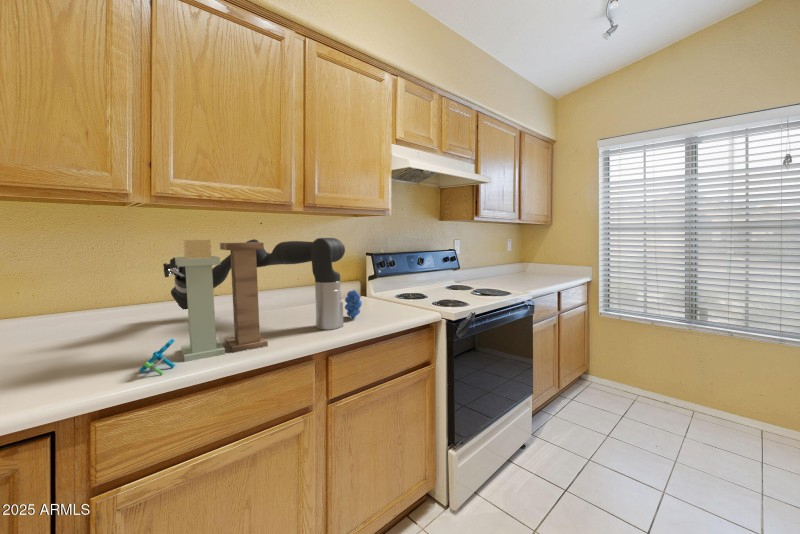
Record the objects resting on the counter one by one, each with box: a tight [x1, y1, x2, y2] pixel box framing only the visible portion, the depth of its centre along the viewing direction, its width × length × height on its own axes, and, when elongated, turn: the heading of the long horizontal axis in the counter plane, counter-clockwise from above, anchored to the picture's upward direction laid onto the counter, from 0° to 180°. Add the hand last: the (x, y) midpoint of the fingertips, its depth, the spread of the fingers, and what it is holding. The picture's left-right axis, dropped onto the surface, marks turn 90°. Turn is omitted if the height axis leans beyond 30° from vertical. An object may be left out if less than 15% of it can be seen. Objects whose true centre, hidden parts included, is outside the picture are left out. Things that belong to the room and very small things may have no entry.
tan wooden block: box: [183, 239, 212, 259], centre depth 104 cm, size 21×6×5 cm, turn 36°
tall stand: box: [219, 242, 269, 353], centre depth 108 cm, size 12×10×32 cm
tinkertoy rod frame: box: [138, 338, 176, 376], centre depth 89 cm, size 11×6×10 cm
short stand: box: [174, 255, 226, 362], centre depth 101 cm, size 12×10×28 cm
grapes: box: [344, 289, 363, 319], centre depth 144 cm, size 12×7×12 cm, turn 37°
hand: (189, 259), depth 117 cm, fingers open, 8 cm apart
